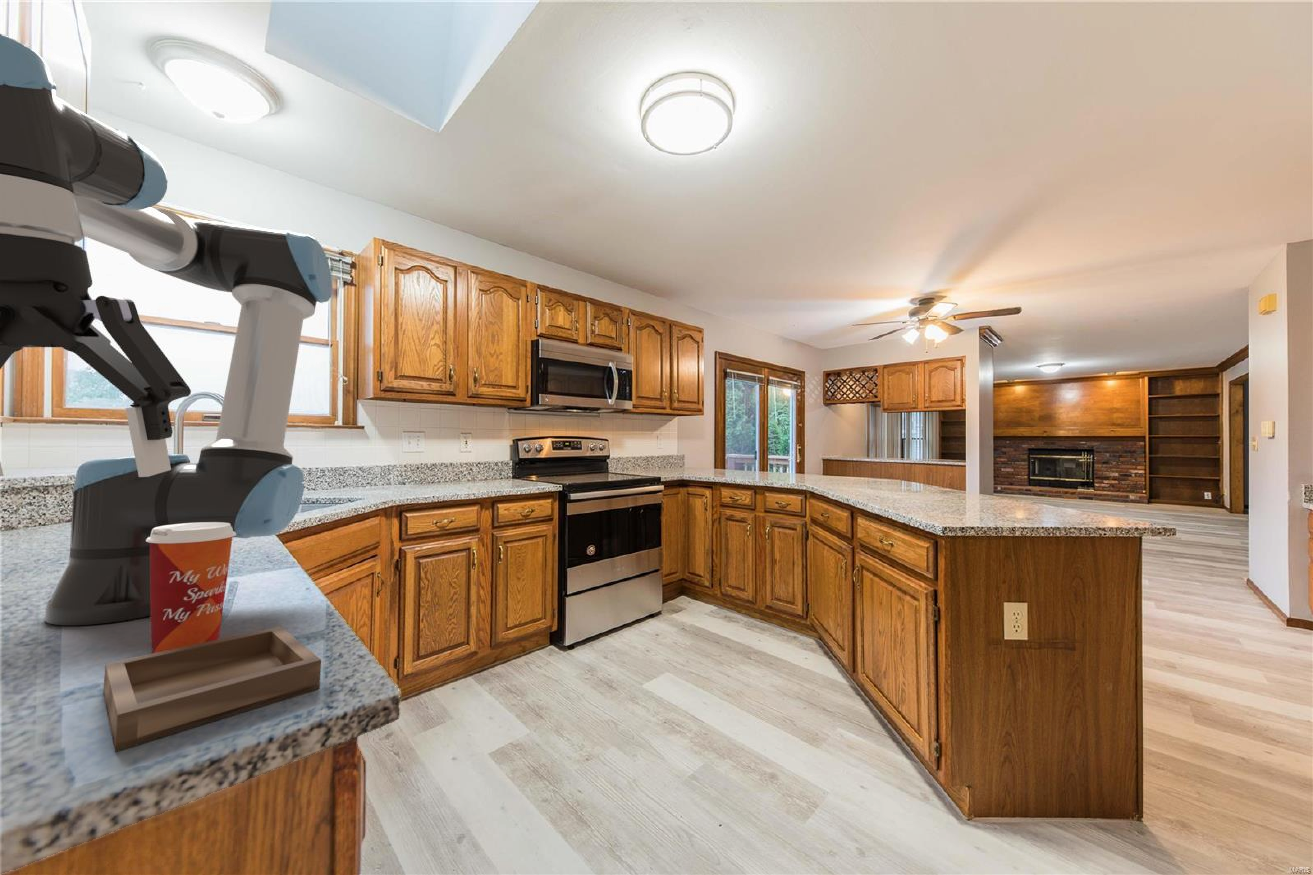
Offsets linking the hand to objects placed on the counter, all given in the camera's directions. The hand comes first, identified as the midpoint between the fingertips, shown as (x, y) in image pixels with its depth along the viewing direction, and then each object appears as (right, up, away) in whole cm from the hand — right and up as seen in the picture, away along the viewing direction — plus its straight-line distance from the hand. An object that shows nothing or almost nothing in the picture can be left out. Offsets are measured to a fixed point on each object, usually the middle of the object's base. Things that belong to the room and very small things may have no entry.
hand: (71, 476), depth 45 cm
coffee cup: (-4, -23, +15) cm, 28 cm away
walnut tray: (+9, -22, +4) cm, 25 cm away
